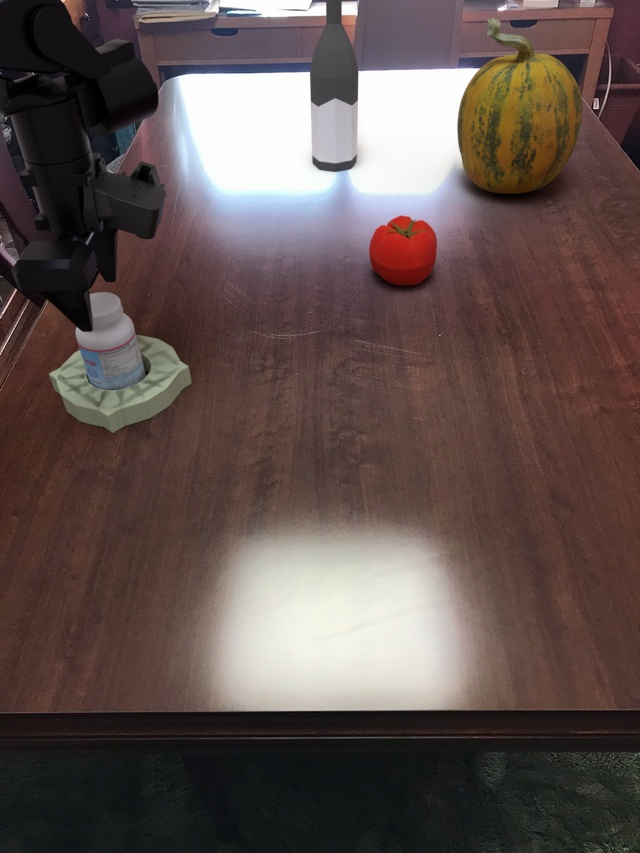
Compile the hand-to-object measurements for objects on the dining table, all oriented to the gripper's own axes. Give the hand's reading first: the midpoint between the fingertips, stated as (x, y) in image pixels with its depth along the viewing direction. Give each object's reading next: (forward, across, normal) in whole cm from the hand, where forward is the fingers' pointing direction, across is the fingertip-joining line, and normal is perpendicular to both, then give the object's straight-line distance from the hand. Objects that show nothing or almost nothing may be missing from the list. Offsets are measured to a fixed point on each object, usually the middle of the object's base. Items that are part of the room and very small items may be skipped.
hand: (99, 305), depth 71 cm
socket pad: (+11, 0, 0) cm, 11 cm away
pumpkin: (+12, +54, -53) cm, 76 cm away
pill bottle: (+11, 0, 0) cm, 11 cm away
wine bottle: (+12, +64, -24) cm, 69 cm away
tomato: (+11, +24, -33) cm, 43 cm away
